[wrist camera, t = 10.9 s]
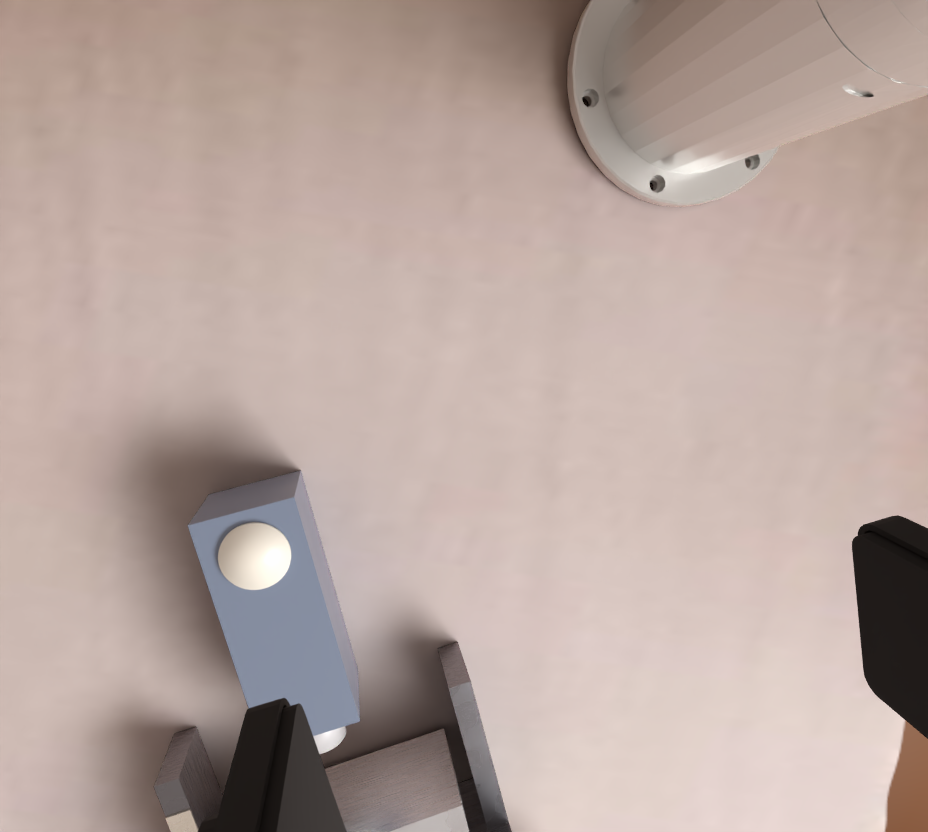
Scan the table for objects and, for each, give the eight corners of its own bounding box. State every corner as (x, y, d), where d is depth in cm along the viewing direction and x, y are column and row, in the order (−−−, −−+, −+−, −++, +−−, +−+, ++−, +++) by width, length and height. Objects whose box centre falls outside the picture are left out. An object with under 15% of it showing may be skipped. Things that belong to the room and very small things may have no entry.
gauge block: (300, 469, 35) (294, 498, 30) (366, 696, 38) (370, 758, 33) (209, 493, 34) (186, 526, 29) (283, 722, 37) (274, 789, 32)
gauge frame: (174, 734, 36) (127, 854, 28) (457, 642, 38) (487, 730, 30) (233, 885, 38) (205, 1035, 30) (497, 790, 40) (534, 908, 32)
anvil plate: (190, 814, 36) (161, 913, 30) (443, 728, 38) (461, 805, 32) (199, 837, 37) (173, 939, 31) (450, 751, 38) (469, 831, 33)
